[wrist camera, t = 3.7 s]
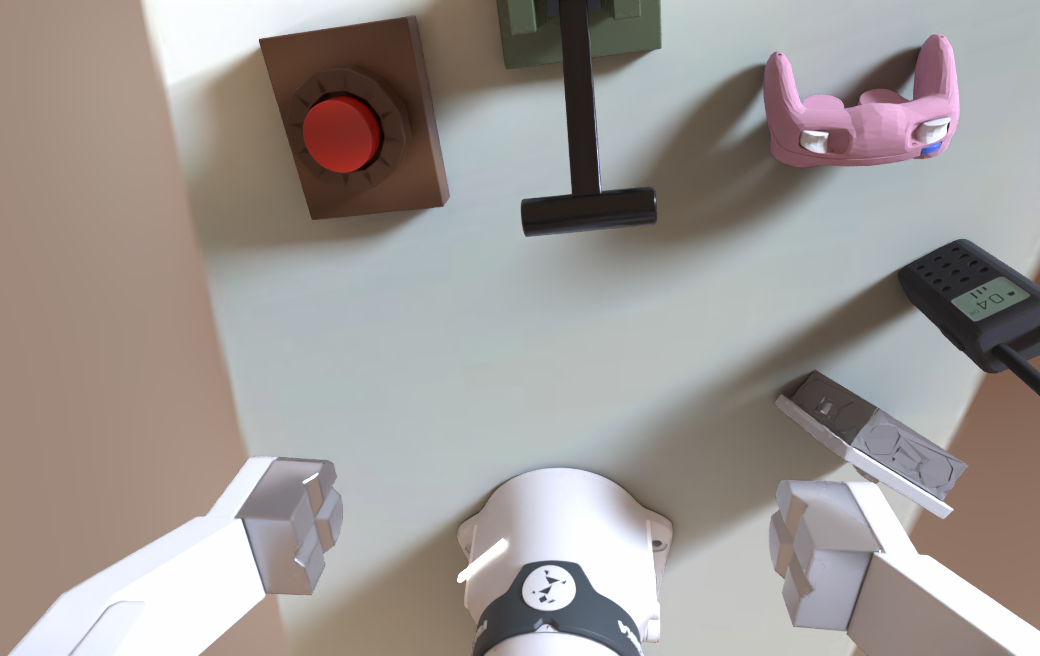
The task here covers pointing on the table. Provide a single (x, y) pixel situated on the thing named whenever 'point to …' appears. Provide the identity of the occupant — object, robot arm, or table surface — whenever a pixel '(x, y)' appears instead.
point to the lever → (584, 147)
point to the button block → (385, 91)
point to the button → (341, 134)
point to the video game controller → (864, 116)
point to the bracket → (613, 28)
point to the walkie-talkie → (979, 307)
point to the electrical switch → (874, 442)
